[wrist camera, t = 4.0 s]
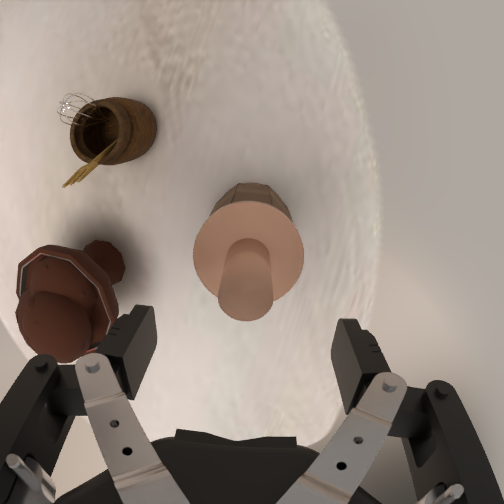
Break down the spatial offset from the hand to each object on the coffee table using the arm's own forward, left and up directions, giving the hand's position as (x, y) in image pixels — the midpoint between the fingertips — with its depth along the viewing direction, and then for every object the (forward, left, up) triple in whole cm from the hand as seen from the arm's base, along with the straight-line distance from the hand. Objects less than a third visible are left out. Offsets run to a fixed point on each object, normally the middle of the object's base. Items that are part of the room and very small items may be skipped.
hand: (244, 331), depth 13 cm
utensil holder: (-8, -12, -18) cm, 23 cm away
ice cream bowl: (+6, -16, -18) cm, 25 cm away
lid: (0, 0, -9) cm, 9 cm away
